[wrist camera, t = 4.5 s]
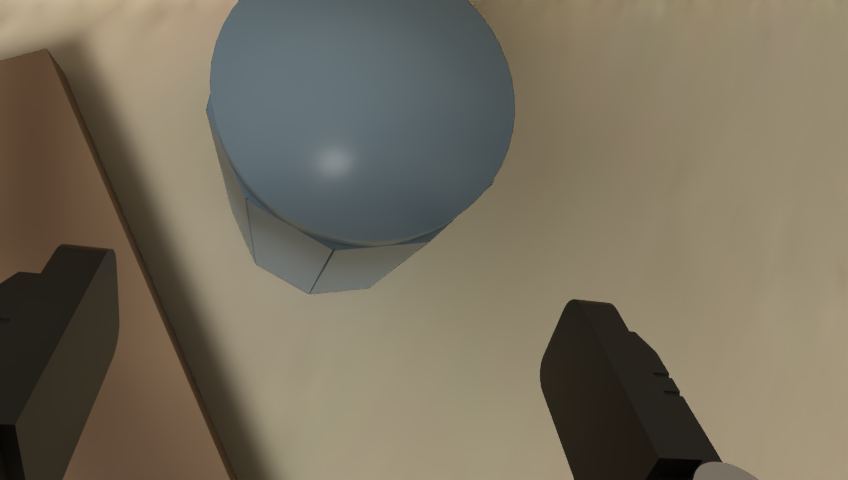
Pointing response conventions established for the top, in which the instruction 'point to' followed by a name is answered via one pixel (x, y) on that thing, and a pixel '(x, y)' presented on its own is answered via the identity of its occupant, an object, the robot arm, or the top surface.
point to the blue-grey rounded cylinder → (355, 130)
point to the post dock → (138, 299)
